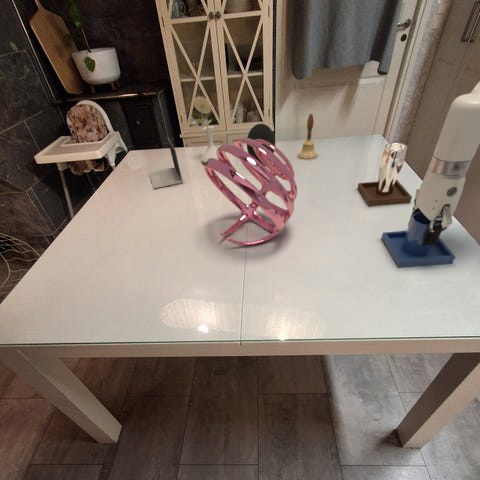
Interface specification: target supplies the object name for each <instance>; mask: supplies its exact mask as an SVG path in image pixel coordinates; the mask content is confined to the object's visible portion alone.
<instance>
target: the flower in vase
mask: <svg viewBox="0 0 480 480" xmlns="http://www.w3.org/2000/svg"><path fill="white" fill-rule="evenodd" d="M192 103H193V107H194V108H195V110H197V112H199V113H201V118H199V117H198V118H197V119H196V121H195V123H198V124H201V125H203V124H204V125H205V126H204V127H202V129H203V131H204V132H205V134H206V138H207V144H208V146H207V148H206V149H205V151H204V152H203V153H202V154H201V156H200V160H201V162H202V163H204V164H206V162H207V161H208V160H209V159H210V158H214V159H217V160H218V158H217V150H218V147H216V146H215V143H214V138H213V137H214V129H215V125H208V124H210V123H212V121H213V118H211V119H209V120H208V121H207V123H206V122H205V120H204V118H203V114H204V115H205V114H206V115H207V114H210V112H211V113H212V104H211V103H210V100H208V99H207V98H205V97H204V96H200V95H198V96H195V98H194V99H193V102H192Z"/></svg>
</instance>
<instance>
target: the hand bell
mask: <svg viewBox="0 0 480 480" xmlns="http://www.w3.org/2000/svg"><path fill="white" fill-rule="evenodd" d="M314 123H315V122H314V114H313V113H310V114H309V115H308V118H307V122H306V128H307V136H306V140H305V141H304V142H303V144H302V149H301V150H300V152H299V153H298V155H297V156H298V158H300V159H304V160H311V159H314V158H316V157H317V156H318V154H317V152H316V150H315V144H314V141H313V140H312V131H313V128H314Z"/></svg>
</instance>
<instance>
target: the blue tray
mask: <svg viewBox="0 0 480 480" xmlns="http://www.w3.org/2000/svg"><path fill="white" fill-rule="evenodd" d="M406 232H407V230H400V231H399V230H397V231H387V232H385V231H384V232H382V235H381V241H382V243H383V244H384V246H385V248H386V250H387V252H388V253H389V254H390V256H391V258H392V260H393V261H394V263H395V265H396V267H397V268H410V267H421V266H422V267H423V266H424V267H425V266H437V265H450V264H451V265H452V264H453V263H454V261H455V259H456V255H455V254H454V252H452V251H451V249H450V248H449V247H448V245H446V243H445V242H444V241H443V239H441V238H440V237H439V238H438V240H437V242H436V244H434V245H432V246H431V248H430V250H429V252H428V253H427V254H426V255H423V256H414V255H410V254H407V253H405V252H404V251H403V250H402V248H401V246H402V243H403V240H404V237H405V234H406Z"/></svg>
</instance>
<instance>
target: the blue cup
mask: <svg viewBox="0 0 480 480" xmlns="http://www.w3.org/2000/svg"><path fill="white" fill-rule="evenodd" d="M411 215H412V214H411ZM440 216H441V215H438V216H437V217H435V218H440ZM410 218H411V217H410ZM409 221H410V220H409ZM408 223H409V222H408ZM437 225H439V221H435V226H437ZM427 230H430V220H429V219H428V218H427V217H426V216H425V215H424V214H423V213H422V212H417V213H415V214H413V215H412V218H411V221H410V223H409V226H408V225H407V229H406V231H407V232H406V234H405V237H404V240H403V243H402V246H401V248H402V250H403V251H404V252H405V253H407V254H410V255H414V256H423V255H426V254H427V253H428V252H429V250H430V248H431V246H432V245H423V244H422V242H423V240H424V237H425V235H426V232H427Z"/></svg>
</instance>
